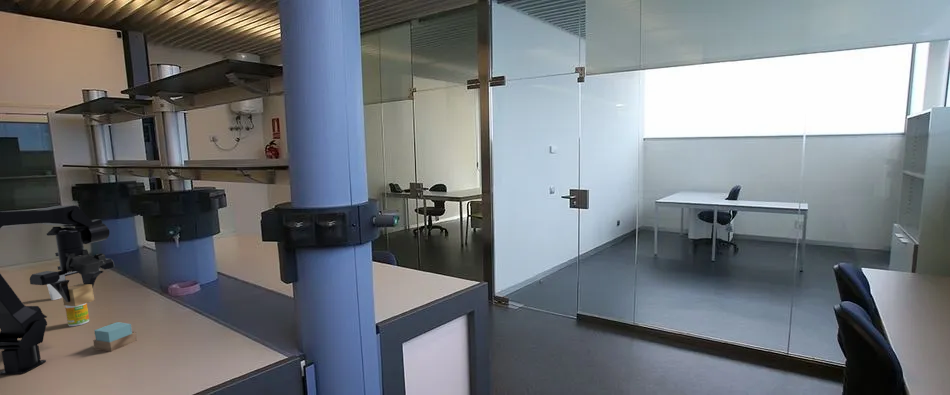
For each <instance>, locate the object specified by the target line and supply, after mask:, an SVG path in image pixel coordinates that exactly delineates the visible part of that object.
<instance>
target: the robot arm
mask: <svg viewBox="0 0 950 395" xmlns="http://www.w3.org/2000/svg"><path fill="white" fill-rule="evenodd" d="M33 224H35V225H36V224H43V225H47V226H52V228H51V229H50V230H49V231H47V233H46V236H50V237H51V236H55V241H56V247H57V252H55V257H58V260H59V266H57V270H58V271H54V270H53V271H51V270H45V271H40V272H36V273H31V275H30V277H29V283H30V285H34V286H47V284H50V285H51V286H53V287H54V288H55V289H56V290H57V291H58V292H59V294H60V295H61V296H62V299H63V298H64V300H65V301H66V302H70V294H69V289H68V287H69V283H70V279H66V277H68V276H72V275H75V274H80V275H81V278H82V284H91V285H92V288H93V289H94V285H95V282H96V279H97V278H98V276H100V275H101V274H103V273H104V270H109V269H112V268H113V269H114V268H115V261H114V260H113V259H112V258H106V255H105V254H104V253H103V252H101V253H97V254H94V255H90V254H89V251H88V249H86V248H84V247H85V245H89V244H94V243H98V242H101V241H106V240H107V239H108V238H109V237H110V229H109V227H108V226H107V225H106V224H105V223H103V220H102V219H100V218H99V219H90V217H88V216H87V215H86V213H84V211H83V209H82V208H81V207H80V206H78V205H74V204H73V205H55V206H54V205H53V206H50V207H45V208H42V209H37V210H18V211H17V210H15V211H14V210H11V211H2V210H1V211H0V229H1V228H2V227H3V226H18V225H33ZM61 226H62V227H61ZM101 269H102V270H101ZM46 318H48V315H45V314H44V313H43V311H42V309H41V307H40V306H38V305H25V304H24V303H23V302H22V300H21V299H20V298H19V296H18V295H17V293H16V292H15V291H14V290H13V288H12V287H11V285H9V283H8V282H7V280H6V279H5V277H4V276H3V275H2V274H1V273H0V350H1V357H2V362H3V368H4V370H1V371H0V375H17V374H25V373H27V372H29V371H31V370H33V369H35V368H38V367H39V366H40V365H43V364H44V363H46V362H47V359H41V353H40V346H39V345H40V344H42V343H43V341H44V339H45V332H46V328H47V326H48V321H47V320H46Z"/></svg>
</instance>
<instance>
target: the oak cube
mask: <svg viewBox="0 0 950 395" xmlns="http://www.w3.org/2000/svg"><path fill="white" fill-rule="evenodd" d="M68 289H69V294H70V302H66V301H65V300H64V298H63V297H62V301H63V302H62V303H63V306H64V307H65V306H79V305H82V304H85V303H87V304H88V303H90V302H94V301H95V295H94V287H93V288H92V285H91V284H83V283H78V284H75V285H72V286H68Z"/></svg>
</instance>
